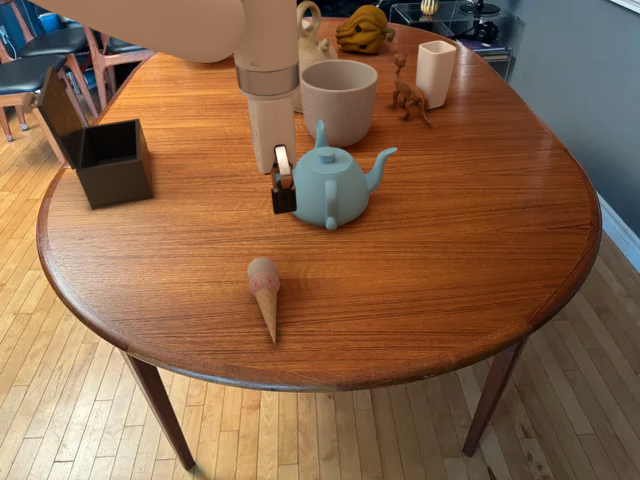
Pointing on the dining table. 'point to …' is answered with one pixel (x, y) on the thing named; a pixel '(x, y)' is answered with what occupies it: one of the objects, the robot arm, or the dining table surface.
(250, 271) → the ice cream cone
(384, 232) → the dining table surface
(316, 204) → the teapot
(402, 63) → the cat figurine
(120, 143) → the bin
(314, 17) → the jug
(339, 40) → the fruit
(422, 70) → the cup
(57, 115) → the bin lid
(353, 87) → the planter
